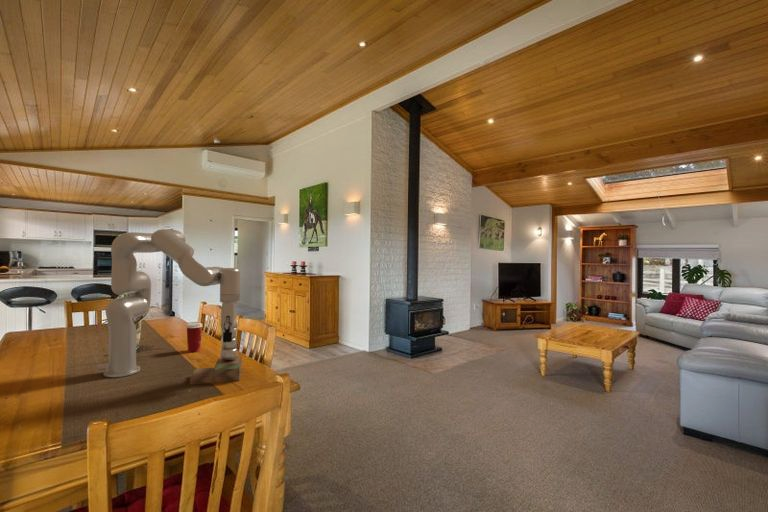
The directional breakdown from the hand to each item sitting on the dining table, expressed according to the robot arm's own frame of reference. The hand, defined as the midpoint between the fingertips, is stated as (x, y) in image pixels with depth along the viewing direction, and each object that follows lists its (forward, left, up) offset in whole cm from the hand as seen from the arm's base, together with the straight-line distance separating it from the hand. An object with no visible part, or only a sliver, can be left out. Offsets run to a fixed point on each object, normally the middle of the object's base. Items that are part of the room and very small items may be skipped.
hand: (228, 338), depth 150 cm
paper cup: (-21, +44, -16) cm, 51 cm away
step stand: (-4, 0, -16) cm, 17 cm away
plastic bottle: (0, +1, -9) cm, 9 cm away
